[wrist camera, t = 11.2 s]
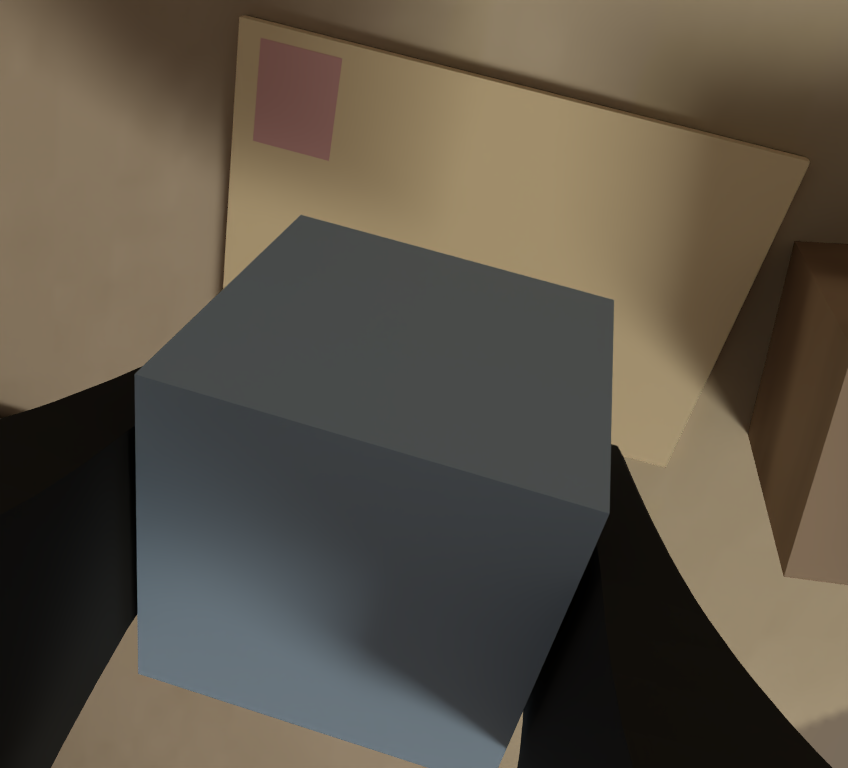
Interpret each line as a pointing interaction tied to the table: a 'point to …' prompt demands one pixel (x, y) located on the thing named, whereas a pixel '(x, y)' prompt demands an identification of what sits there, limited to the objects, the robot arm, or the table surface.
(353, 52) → the letter
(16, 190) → the table surface
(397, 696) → the slate cube
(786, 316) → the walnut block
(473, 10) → the table surface
